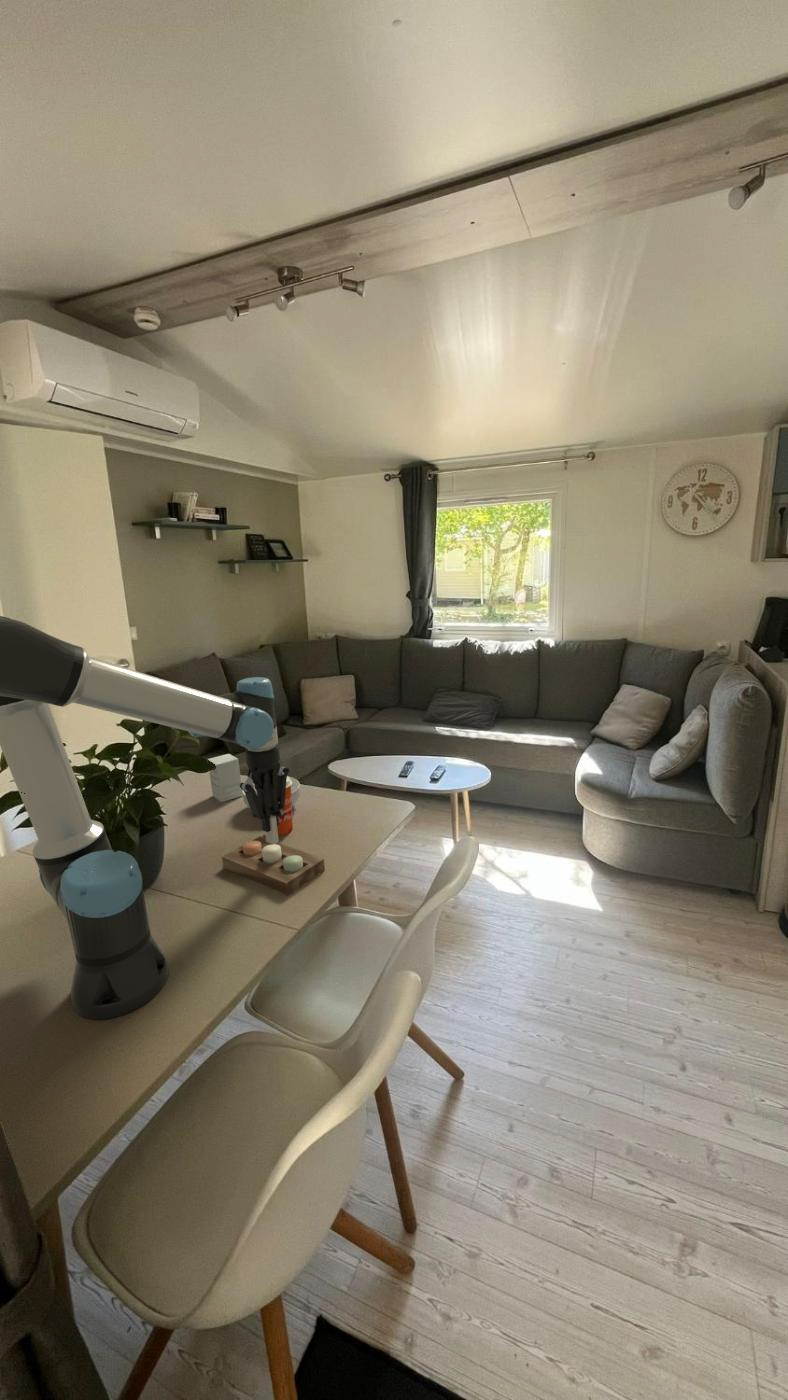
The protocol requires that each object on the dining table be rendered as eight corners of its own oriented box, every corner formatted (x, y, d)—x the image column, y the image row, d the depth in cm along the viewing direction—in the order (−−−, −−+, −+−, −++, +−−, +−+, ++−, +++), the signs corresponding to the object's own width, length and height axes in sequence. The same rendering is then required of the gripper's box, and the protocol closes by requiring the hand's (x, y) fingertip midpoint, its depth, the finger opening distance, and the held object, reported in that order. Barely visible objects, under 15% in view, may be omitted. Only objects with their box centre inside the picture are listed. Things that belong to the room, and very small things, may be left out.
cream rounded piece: (272, 869, 131) (270, 855, 130) (259, 864, 133) (257, 850, 132) (286, 861, 134) (284, 847, 133) (273, 856, 136) (271, 842, 136)
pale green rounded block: (294, 881, 127) (292, 867, 126) (280, 876, 129) (278, 862, 128) (307, 872, 130) (306, 858, 129) (294, 867, 133) (292, 853, 132)
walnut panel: (287, 895, 123) (286, 883, 122) (223, 868, 136) (221, 856, 135) (324, 870, 132) (323, 858, 132) (261, 846, 145) (260, 836, 144)
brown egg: (252, 864, 135) (250, 851, 134) (240, 859, 137) (238, 846, 136) (266, 856, 138) (264, 843, 137) (254, 852, 141) (252, 839, 140)
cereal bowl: (232, 812, 166) (229, 790, 165) (275, 792, 179) (273, 772, 177) (271, 826, 156) (268, 802, 154) (313, 804, 169) (311, 782, 167)
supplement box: (234, 789, 183) (229, 752, 180) (243, 796, 178) (238, 758, 175) (211, 796, 179) (206, 758, 176) (220, 803, 173) (215, 764, 170)
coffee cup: (280, 841, 147) (274, 787, 144) (259, 833, 152) (253, 781, 149) (303, 828, 154) (298, 777, 150) (283, 821, 159) (277, 771, 155)
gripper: (249, 757, 119) (261, 858, 125) (294, 740, 129) (303, 834, 135) (227, 752, 123) (239, 849, 129) (272, 736, 133) (282, 826, 139)
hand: (272, 841), depth 132 cm, fingers closed
